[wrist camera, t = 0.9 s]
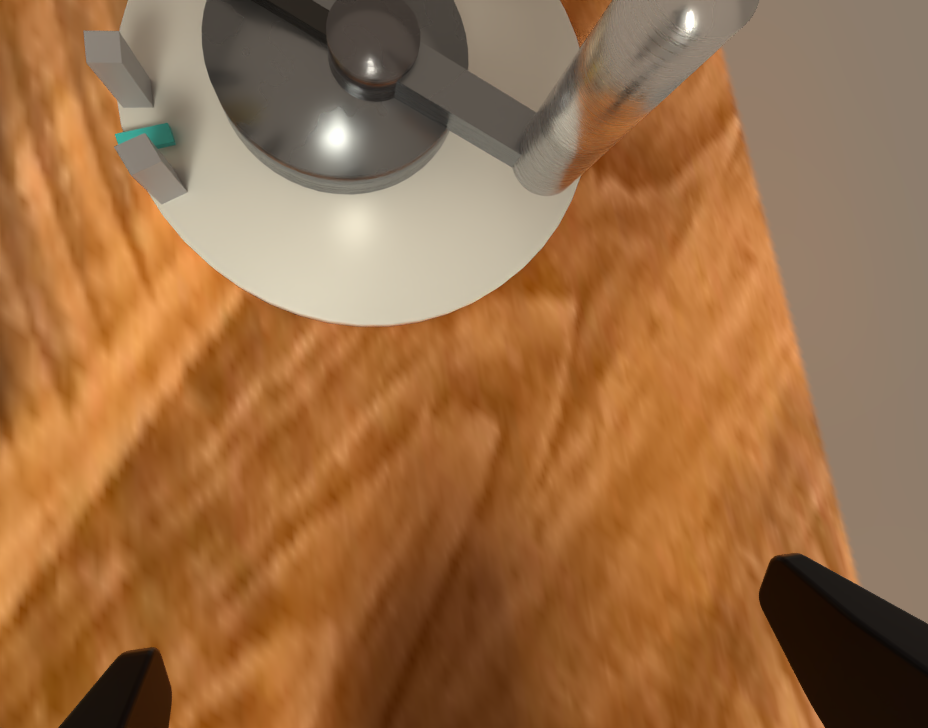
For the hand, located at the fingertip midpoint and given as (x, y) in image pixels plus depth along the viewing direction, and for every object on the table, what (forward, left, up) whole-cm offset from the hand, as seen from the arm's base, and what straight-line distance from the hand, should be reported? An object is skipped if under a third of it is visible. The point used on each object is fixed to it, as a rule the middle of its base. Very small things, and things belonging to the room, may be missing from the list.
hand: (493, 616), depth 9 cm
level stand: (+14, -6, -15) cm, 21 cm away
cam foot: (+14, -6, -14) cm, 20 cm away
